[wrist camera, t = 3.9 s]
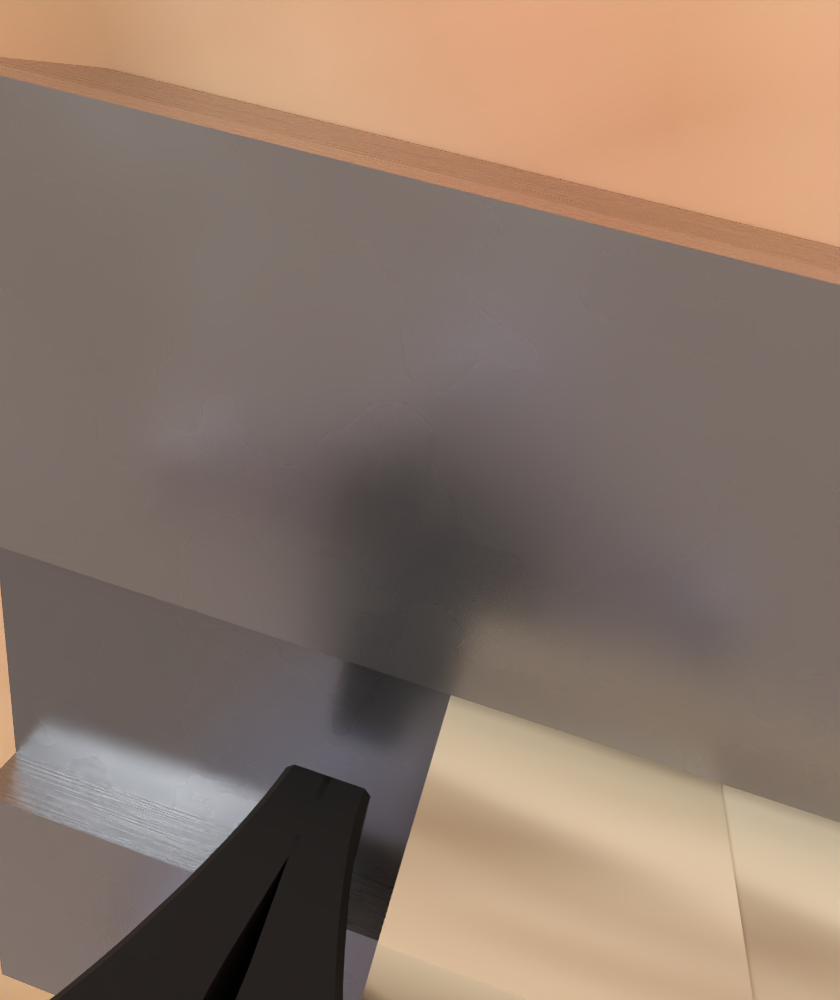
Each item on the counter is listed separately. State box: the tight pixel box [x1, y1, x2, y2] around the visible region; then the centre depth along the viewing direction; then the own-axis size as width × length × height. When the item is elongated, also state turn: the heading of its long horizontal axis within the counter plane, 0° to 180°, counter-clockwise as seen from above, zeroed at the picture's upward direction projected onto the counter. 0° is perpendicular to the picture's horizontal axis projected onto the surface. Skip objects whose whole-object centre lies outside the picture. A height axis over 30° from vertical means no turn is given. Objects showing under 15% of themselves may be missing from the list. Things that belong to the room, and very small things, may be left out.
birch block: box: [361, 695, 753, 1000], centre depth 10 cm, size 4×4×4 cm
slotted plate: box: [0, 57, 840, 1000], centre depth 13 cm, size 18×14×4 cm
